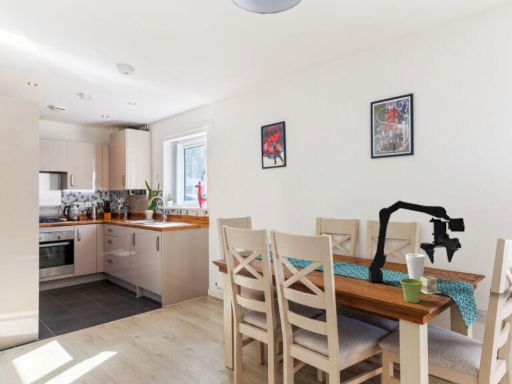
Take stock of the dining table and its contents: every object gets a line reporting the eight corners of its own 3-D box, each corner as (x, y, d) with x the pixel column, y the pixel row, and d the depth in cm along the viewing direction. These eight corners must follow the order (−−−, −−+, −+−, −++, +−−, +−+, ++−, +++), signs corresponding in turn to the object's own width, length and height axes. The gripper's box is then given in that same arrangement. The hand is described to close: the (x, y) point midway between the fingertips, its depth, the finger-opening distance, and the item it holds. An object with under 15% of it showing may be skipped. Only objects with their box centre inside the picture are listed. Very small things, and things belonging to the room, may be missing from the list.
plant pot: (429, 302, 142) (428, 282, 142) (411, 305, 139) (410, 285, 139) (412, 296, 151) (412, 277, 151) (395, 298, 148) (395, 279, 148)
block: (427, 292, 155) (426, 279, 155) (420, 289, 160) (420, 276, 160) (436, 291, 156) (436, 278, 156) (429, 288, 161) (429, 276, 161)
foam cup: (427, 281, 173) (427, 257, 173) (409, 281, 175) (408, 256, 175) (422, 277, 183) (422, 253, 183) (404, 276, 185) (404, 253, 185)
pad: (426, 293, 154) (426, 293, 154) (415, 289, 162) (415, 288, 162) (442, 292, 155) (442, 292, 155) (430, 287, 163) (430, 287, 163)
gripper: (433, 234, 154) (434, 267, 154) (469, 232, 157) (470, 265, 157) (418, 231, 165) (419, 262, 165) (452, 230, 168) (453, 260, 168)
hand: (441, 262), depth 163 cm, fingers open, 9 cm apart
